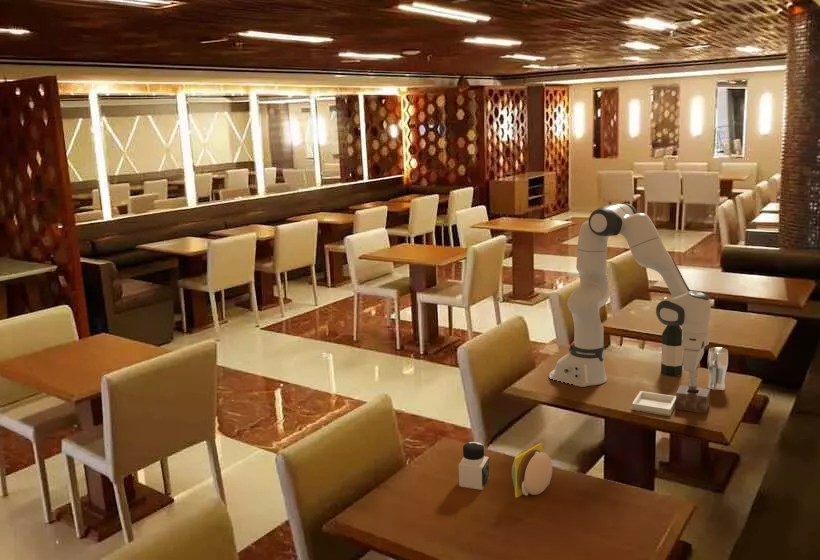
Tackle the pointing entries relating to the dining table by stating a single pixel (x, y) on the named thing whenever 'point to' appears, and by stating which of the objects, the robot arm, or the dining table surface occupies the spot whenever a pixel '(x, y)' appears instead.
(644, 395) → the tray
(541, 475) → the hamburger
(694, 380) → the pin
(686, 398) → the block
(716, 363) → the beer glass
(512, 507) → the dining table surface
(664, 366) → the wine bottle
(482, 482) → the medicine bottle
